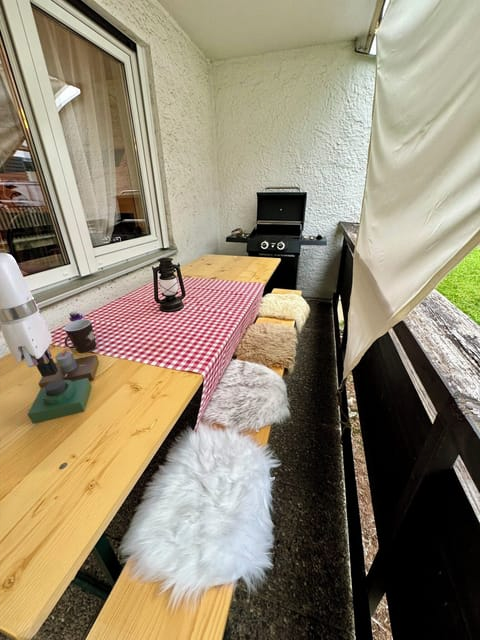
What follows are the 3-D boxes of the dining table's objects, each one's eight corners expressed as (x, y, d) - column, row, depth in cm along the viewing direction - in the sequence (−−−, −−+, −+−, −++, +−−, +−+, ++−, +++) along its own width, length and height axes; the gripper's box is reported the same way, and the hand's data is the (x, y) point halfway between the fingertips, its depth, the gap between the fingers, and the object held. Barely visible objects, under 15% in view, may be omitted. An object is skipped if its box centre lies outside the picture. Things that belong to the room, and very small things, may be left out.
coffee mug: (91, 339, 101) (82, 317, 97) (104, 345, 97) (96, 322, 93) (60, 355, 93) (49, 331, 88) (74, 362, 89) (63, 337, 84)
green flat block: (33, 424, 66) (23, 408, 63) (46, 396, 74) (38, 382, 72) (84, 411, 69) (77, 396, 66) (91, 386, 77) (85, 372, 75)
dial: (75, 370, 80) (69, 356, 77) (59, 374, 79) (52, 360, 76) (78, 362, 83) (72, 348, 81) (63, 365, 82) (57, 351, 80)
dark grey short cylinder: (45, 398, 67) (42, 392, 66) (51, 386, 71) (48, 381, 70) (64, 393, 68) (61, 388, 67) (69, 383, 72) (66, 377, 71)
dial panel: (42, 391, 77) (37, 383, 75) (53, 371, 85) (49, 363, 84) (93, 380, 80) (90, 372, 78) (99, 361, 88) (96, 354, 87)
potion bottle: (67, 344, 99) (55, 316, 94) (85, 332, 106) (74, 306, 101) (84, 347, 97) (73, 319, 91) (101, 335, 104) (92, 308, 98)
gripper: (12, 300, 63) (44, 360, 72) (-22, 329, 51) (21, 397, 59) (47, 295, 65) (73, 354, 74) (21, 321, 52) (57, 389, 61)
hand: (50, 373), depth 67 cm, fingers closed
